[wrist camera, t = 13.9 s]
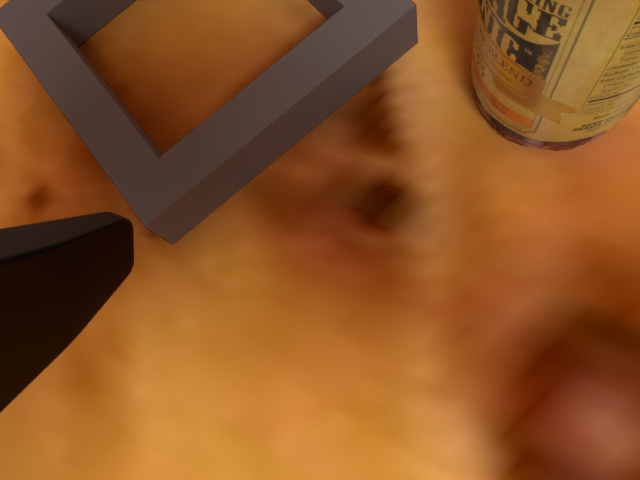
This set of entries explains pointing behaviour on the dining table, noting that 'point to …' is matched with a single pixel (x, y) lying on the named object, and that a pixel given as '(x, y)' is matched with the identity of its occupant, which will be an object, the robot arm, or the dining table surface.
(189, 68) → the dining table surface
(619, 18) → the sauce bottle
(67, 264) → the robot arm
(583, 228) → the dining table surface
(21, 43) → the grey square frame
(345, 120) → the dining table surface
